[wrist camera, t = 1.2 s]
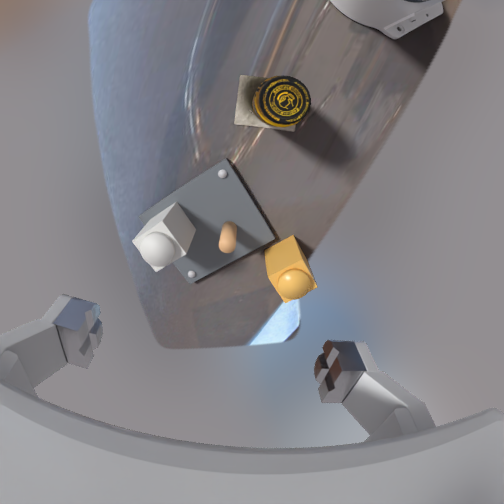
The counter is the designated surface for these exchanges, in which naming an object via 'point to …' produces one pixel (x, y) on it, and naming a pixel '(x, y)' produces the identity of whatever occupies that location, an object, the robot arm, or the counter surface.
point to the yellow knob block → (289, 270)
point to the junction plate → (203, 225)
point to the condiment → (271, 102)
